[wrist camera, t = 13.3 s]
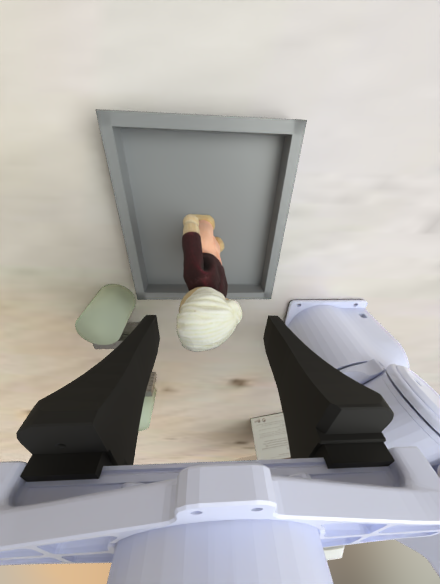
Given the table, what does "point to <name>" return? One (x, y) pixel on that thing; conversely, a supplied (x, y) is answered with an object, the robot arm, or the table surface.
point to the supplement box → (279, 453)
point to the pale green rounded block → (106, 315)
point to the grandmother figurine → (204, 289)
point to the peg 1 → (147, 411)
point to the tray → (201, 193)
